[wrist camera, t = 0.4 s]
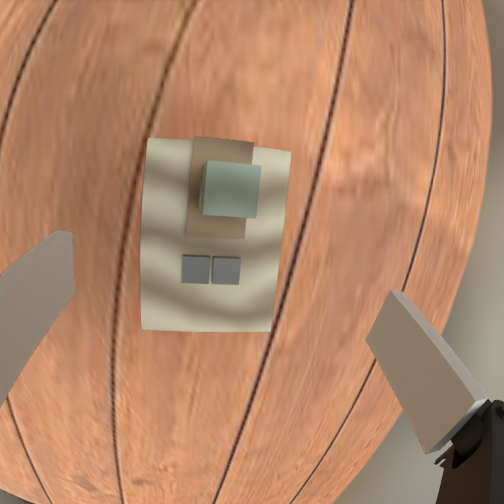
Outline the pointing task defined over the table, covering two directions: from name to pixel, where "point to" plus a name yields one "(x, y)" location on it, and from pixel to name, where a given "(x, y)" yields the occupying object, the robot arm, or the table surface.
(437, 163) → the table surface
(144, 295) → the board
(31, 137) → the table surface
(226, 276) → the mark tile
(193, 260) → the mark tile
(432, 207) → the table surface
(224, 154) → the block
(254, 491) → the table surface
